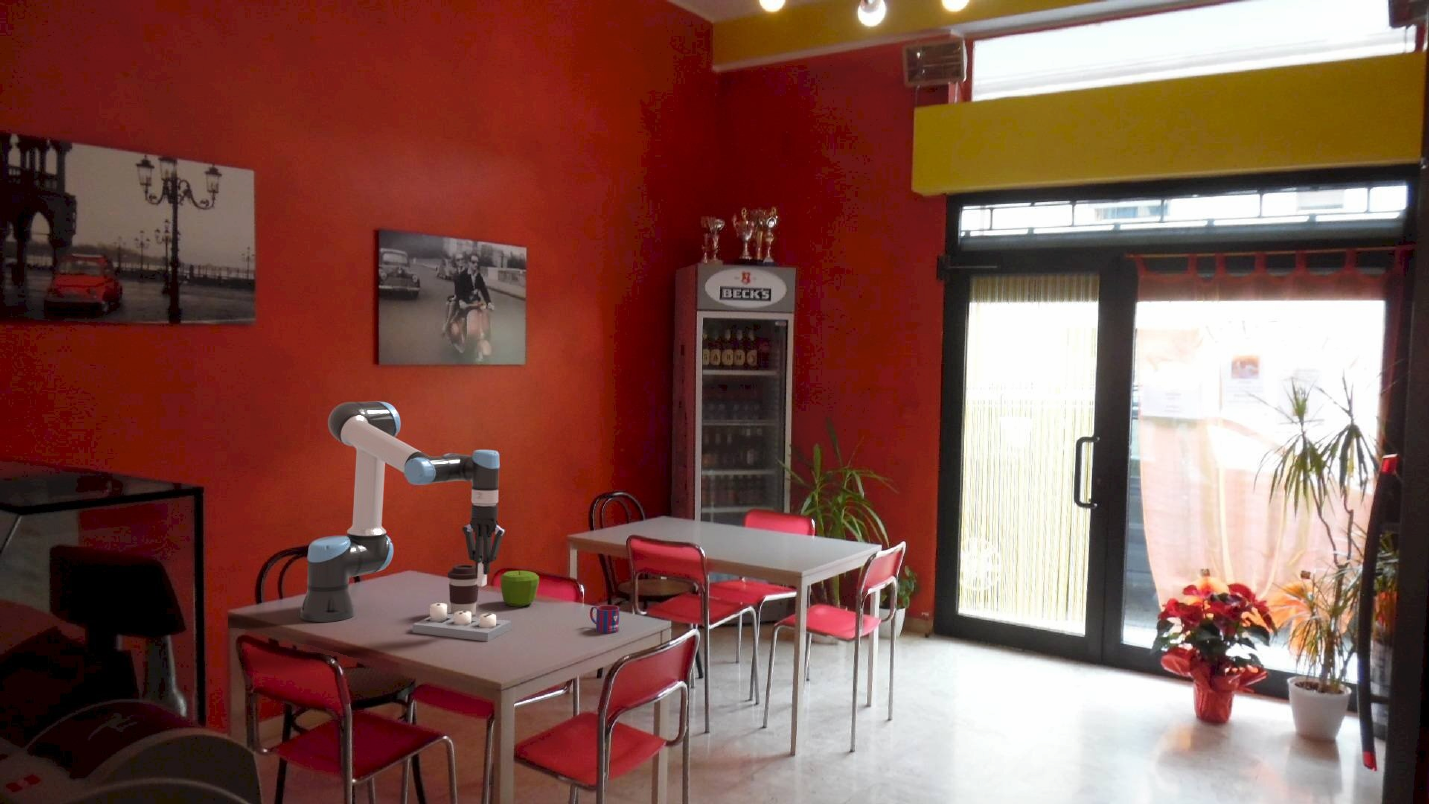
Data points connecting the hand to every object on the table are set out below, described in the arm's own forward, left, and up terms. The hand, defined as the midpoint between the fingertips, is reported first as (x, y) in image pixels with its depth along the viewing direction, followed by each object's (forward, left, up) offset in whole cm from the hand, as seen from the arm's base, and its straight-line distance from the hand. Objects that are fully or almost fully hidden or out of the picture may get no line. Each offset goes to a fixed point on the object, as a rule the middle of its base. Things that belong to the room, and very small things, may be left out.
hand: (481, 585), depth 282 cm
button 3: (+2, 0, -13) cm, 13 cm away
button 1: (-14, 0, -12) cm, 18 cm away
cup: (+31, +17, -14) cm, 38 cm away
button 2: (-6, 0, -13) cm, 14 cm away
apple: (-5, +35, -14) cm, 38 cm away
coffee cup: (-15, +16, -14) cm, 26 cm away
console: (-6, 0, -14) cm, 15 cm away
